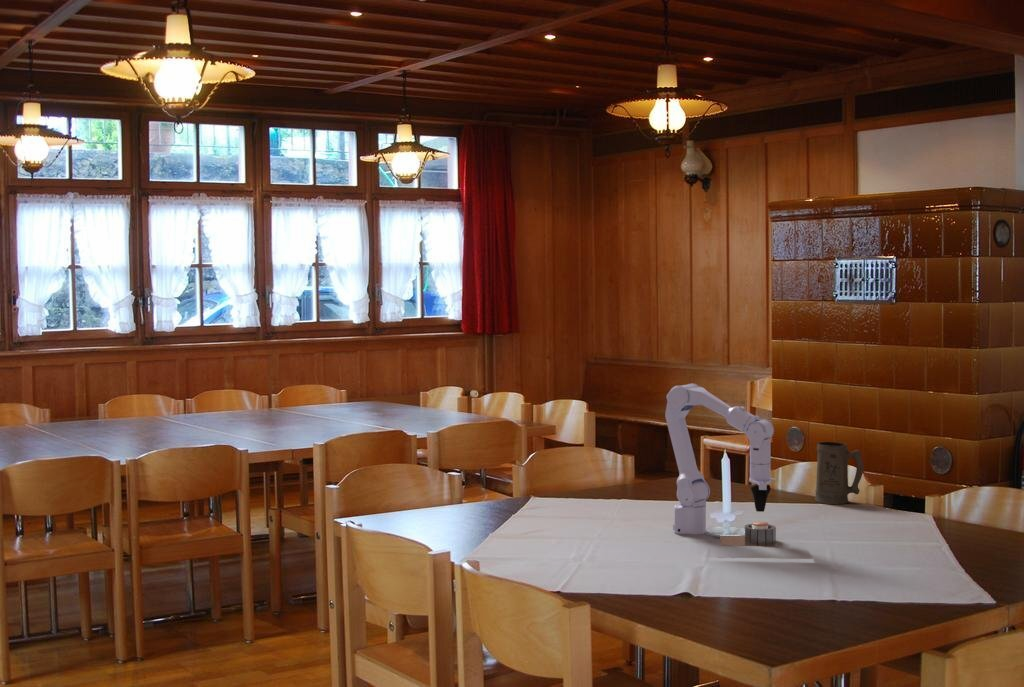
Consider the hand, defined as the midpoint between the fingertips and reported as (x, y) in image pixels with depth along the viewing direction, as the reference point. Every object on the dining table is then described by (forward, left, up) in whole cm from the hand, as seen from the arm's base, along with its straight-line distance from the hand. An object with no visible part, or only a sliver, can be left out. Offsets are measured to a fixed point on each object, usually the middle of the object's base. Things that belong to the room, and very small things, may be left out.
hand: (760, 511), depth 327 cm
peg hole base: (-3, 0, -9) cm, 10 cm away
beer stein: (+33, +65, -10) cm, 73 cm away
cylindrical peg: (0, 0, -8) cm, 8 cm away
